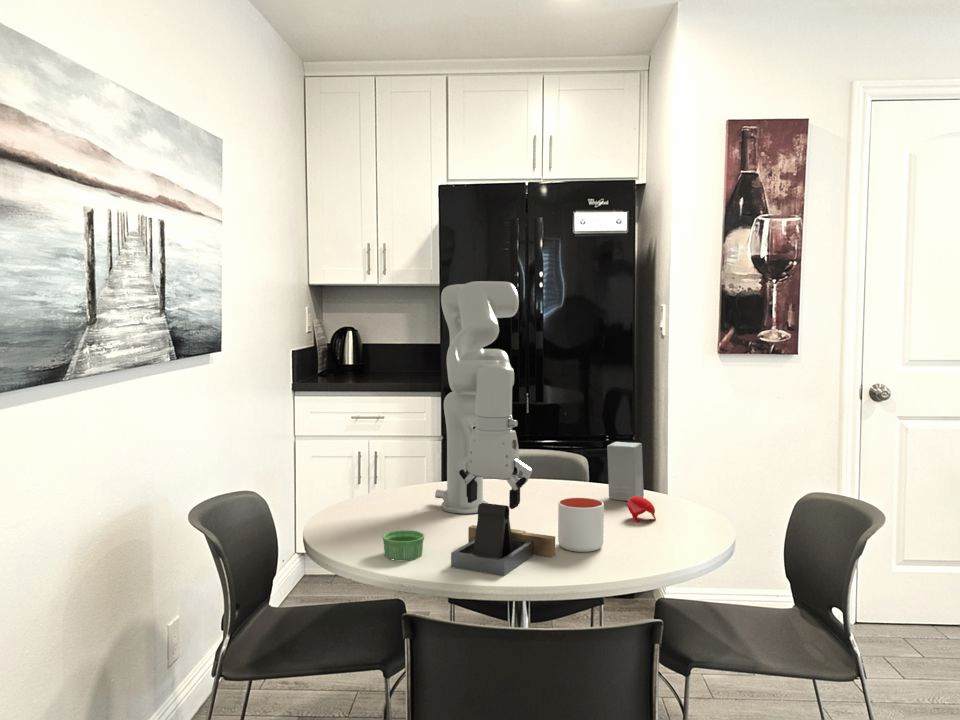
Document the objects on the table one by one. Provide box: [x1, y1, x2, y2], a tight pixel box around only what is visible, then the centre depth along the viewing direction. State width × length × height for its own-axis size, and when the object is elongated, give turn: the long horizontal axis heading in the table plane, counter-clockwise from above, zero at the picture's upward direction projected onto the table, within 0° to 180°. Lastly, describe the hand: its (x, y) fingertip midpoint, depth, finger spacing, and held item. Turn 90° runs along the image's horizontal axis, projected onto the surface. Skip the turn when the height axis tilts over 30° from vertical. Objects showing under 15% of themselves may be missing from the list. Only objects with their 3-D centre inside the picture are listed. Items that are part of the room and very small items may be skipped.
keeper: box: [450, 539, 534, 577], centre depth 166 cm, size 12×15×3 cm
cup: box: [557, 497, 605, 553], centre depth 176 cm, size 10×10×10 cm
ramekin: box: [382, 529, 425, 561], centre depth 170 cm, size 9×9×4 cm
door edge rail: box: [467, 524, 556, 558], centre depth 174 cm, size 20×2×4 cm, turn 64°
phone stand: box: [473, 502, 514, 559], centre depth 166 cm, size 9×6×12 cm, turn 154°
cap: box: [626, 496, 657, 523], centre depth 199 cm, size 8×6×6 cm
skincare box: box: [606, 441, 645, 502], centre depth 221 cm, size 8×7×16 cm
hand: (492, 504), depth 166 cm, fingers open, 9 cm apart
